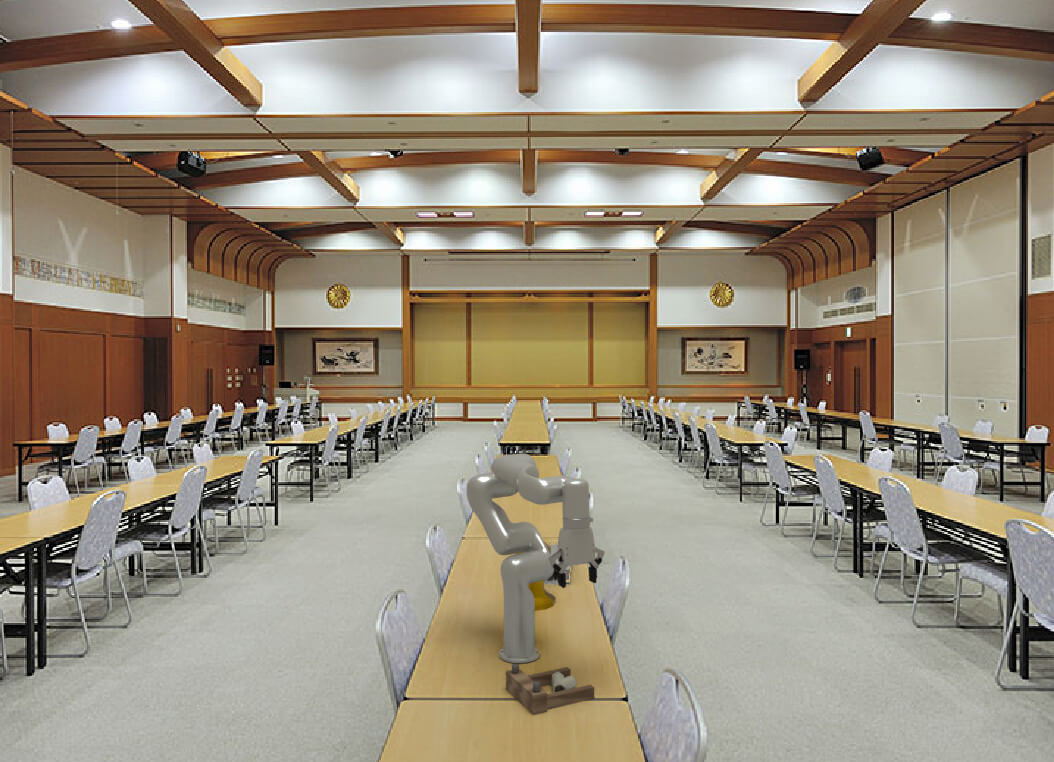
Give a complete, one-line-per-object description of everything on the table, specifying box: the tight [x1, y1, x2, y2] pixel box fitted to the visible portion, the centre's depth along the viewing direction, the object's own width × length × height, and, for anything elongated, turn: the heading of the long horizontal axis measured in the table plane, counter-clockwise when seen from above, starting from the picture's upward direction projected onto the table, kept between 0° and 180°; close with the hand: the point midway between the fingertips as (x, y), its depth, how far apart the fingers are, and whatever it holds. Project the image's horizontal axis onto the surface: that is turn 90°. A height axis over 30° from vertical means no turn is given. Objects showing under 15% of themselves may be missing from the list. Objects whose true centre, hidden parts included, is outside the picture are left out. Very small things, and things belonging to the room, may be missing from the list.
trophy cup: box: [516, 541, 557, 612], centre depth 279 cm, size 18×24×28 cm
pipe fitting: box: [551, 672, 577, 693], centre depth 204 cm, size 8×4×7 cm
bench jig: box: [505, 663, 595, 716], centre depth 202 cm, size 17×19×7 cm
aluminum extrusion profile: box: [544, 542, 572, 586], centre depth 319 cm, size 14×31×10 cm, turn 175°
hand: (577, 584), depth 207 cm, fingers open, 9 cm apart
